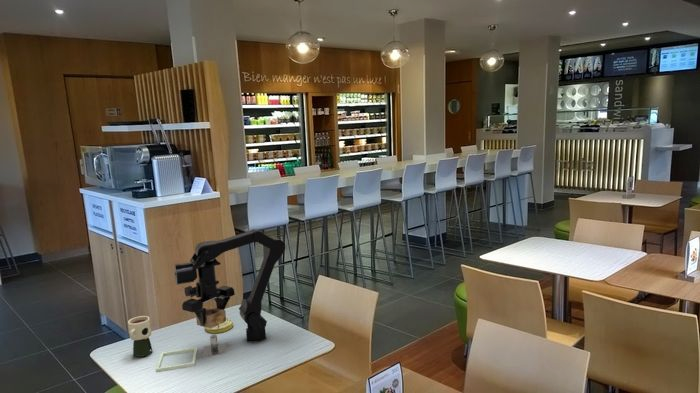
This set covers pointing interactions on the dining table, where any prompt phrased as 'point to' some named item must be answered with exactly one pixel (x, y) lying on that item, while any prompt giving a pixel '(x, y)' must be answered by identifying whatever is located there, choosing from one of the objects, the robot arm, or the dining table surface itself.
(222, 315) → the brown piece
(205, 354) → the stake
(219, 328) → the decorated donut
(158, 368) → the tray
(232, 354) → the dining table surface
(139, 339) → the character mug
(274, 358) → the dining table surface
